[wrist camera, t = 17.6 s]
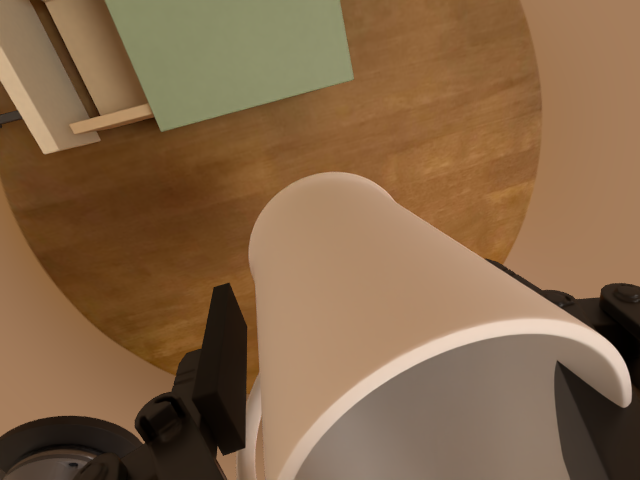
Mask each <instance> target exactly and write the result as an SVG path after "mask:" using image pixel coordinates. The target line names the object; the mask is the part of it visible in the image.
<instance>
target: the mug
mask: <svg viewBox="0 0 640 480" xmlns="http://www.w3.org/2000/svg"><path fill="white" fill-rule="evenodd" d="M249 265H250V270H251V274H252V277H253V279H254V282H255V291H256V310H257V330H258V350H259V370H260V372H259V374H258V376H257V378H256V380H255V383H254V385H253V387H252V390H251V392H250V395H249V398H248V401H247V404H246V448H244V449H241V450H238V451H237V453H236V475H237V480H257V478H256V470H255V448H256V439H257V432H258V427H259V422H260V419H261V415H262V427H263V428H262V429H263V448H264V469H265V480H570V477H569V475H568V472H567V469H566V466H565V463H564V460H563V456H562V450H561V444H560V438H559V431H558V424H557V417H556V408H555V395H554V374H555V366H556V362H557V360H558V361H559V362H560V363H562V364H563V365H564V366H565V367H567V368H568V369H569V370H570V371H572V372H573V373H574V374H576V375H577V376H578V377H580V378H581V379H582V380H583V381H585V382H586V383H587V384H589V385H590V386H591V387H593V388H594V389H595V390H597V391H598V392H599V393H601V394H602V395H604V396H605V397H606V398H608V399H609V400H611V401H612V402H614V403H615V404H617V405H619V406H620V407H623V408H625V407H627V406H628V405H629V404H630V403H631V400H632V387H631V380H630V375H629V372H628V369H627V366H626V364H625V362H624V360H623V358H622V356H621V355H620V353H619V352H618V351H617V349H616V348H615V347H614V346H613V345H612V344H611V343H610V342H609V341H608V340H607V339H605V338H604V337H603V336H602V335H600V334H599V333H597V332H596V331H595V330H593V329H592V328H590V327H589V326H587V325H586V324H584V323H583V322H581V321H580V320H578V319H577V318H575V317H573V316H572V315H570V314H569V313H567V312H566V311H564V310H563V309H561V308H559V307H558V306H556V305H555V304H553V303H552V302H550V301H549V300H547V299H545V298H544V297H542V296H541V295H539V294H538V293H536V292H535V291H533V290H531V289H530V288H528V287H527V286H525V285H524V284H522V283H521V282H519V281H517V280H516V279H514V278H513V277H511V276H510V275H508V274H507V273H505V272H503V271H502V270H500V269H499V268H497V267H496V266H494V265H493V264H491V263H489V262H488V261H486V260H485V259H483V258H482V257H480V256H479V255H477V254H475V253H474V252H472V251H471V250H469V249H468V248H466V247H465V246H463V245H461V244H460V243H458V242H457V241H455V240H454V239H452V238H451V237H449V236H447V235H446V234H444V233H443V232H441V231H440V230H438V229H437V228H435V227H433V226H432V225H430V224H429V223H427V222H426V221H424V220H423V219H421V218H419V217H418V216H416V215H415V214H413V213H412V212H410V211H409V210H407V209H405V208H404V207H402V206H401V205H399V204H398V203H396V202H395V201H394V199H393V198H392V197H391V196H390V195H389V194H388V193H387V192H386V191H385V190H384V189H383V188H382V187H380V186H379V185H378V184H376V183H374V182H373V181H371V180H369V179H367V178H364V177H362V176H359V175H355V174H351V173H345V172H325V173H319V174H314V175H311V176H308V177H305V178H302V179H300V180H298V181H296V182H294V183H292V184H290V185H289V186H287V187H286V188H284V189H283V190H281V191H280V192H279V193H278V194H277V195H275V196H274V197H273V198H272V199H271V200H270V202H269V203H268V204H267V205H266V206H265V208H264V209H263V210H262V212H261V214H260V215H259V217H258V219H257V221H256V223H255V225H254V228H253V231H252V234H251V238H250V243H249Z"/></svg>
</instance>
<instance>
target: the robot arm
mask: <svg viewBox="0 0 640 480" xmlns="http://www.w3.org/2000/svg"><path fill="white" fill-rule="evenodd" d="M485 260H486V261H488V262H489V263H491V264H493V265H494V266H496V267H497V268H499V269H500V270H502V271H503V272H505V273H507V274H508V275H510V276H511V277H513V278H514V279H516V280H517V281H519V282H521V283H522V284H524V285H525V286H527V287H528V288H530V289H531V290H533V291H535V292H536V293H538V294H539V295H541V296H542V297H544V298H545V299H547V300H549V301H550V302H552V303H553V304H555V305H556V306H558V307H559V308H561V309H563V310H564V311H566V312H567V313H569V314H570V315H572V316H573V317H575V318H577V319H578V320H580V321H581V322H583V323H584V324H586V325H587V326H589V327H590V328H592V329H593V330H595V331H596V332H597V333H599V334H600V335H602V336H603V337H604V338H605V339H607V340H608V341H609V342H610V343H611V344H612V345H613V346H614V347H615V348H616V349H617V351H618V352H619V353H620V355H621V356H622V358H623V360H624V362H625V364H626V366H627V369H628V372H629V375H630V380H631V387H632V400H631V403H630V404H629V405H628V406H627V407H625V408H623V407H620V406H619V405H617V404H615V403H614V402H612V401H611V400H609V399H608V398H606V397H605V396H604V395H602V394H601V393H599V392H598V391H597V390H595V389H594V388H593V387H591V386H590V385H589V384H587V383H586V382H585V381H583V380H582V379H581V378H580V377H578V376H577V375H576V374H574V373H573V372H572V371H570V370H569V369H568V368H567V367H565V366H564V365H563V364H562V363H560V362H559V361H558V360H557V362H556V366H555V374H554V395H555V408H556V417H557V424H558V431H559V438H560V444H561V450H562V456H563V460H564V463H565V466H566V469H567V472H568V475H569V477H570V480H640V287H639V286H635V285H632V284H625V283H615V284H609V285H606V286H604V287H603V288H602V289H601V295H600V298H588V299H575V298H574V297H573V296H571V295H569V294H567V293H564V292H560V291H555V290H541V289H539V288H538V287H536V286H535V285H533V284H531V283H530V282H528V281H527V280H525V279H524V278H522V277H521V276H519V275H516V274H515V273H514V272H513V271H511V270H508V269H507V268H506V267H505V266H503V265H502V264H500V263H499V262H496V261H492V260H489V259H485ZM246 374H247V325H246V323H245V320H244V318H243V315H242V313H241V310H240V308H239V305H238V303H237V300H236V298H235V296H234V293H233V291H232V288H231V286H230V283H227V284H223V285H220V286H217V287H214V289H213V294H212V299H211V304H210V309H209V314H208V319H207V324H206V329H205V334H204V339H203V344H202V349H198V350H195V351H192V352H189V353H186V355H185V356H184V358H183V359H182V361H181V362H180V363H179V366H178V370H177V373H176V377H175V381H174V386H173V388H172V392H168V393H164V394H161V395H159V396H157V397H155V398H153V399H152V400H150V401H149V402H148V403H147V404H146V405H145V406H144V407H143V408H142V409H141V410H140V411H139V413H138V415H137V417H136V419H135V428H136V430H137V431H138V433H139V434H140V435H141V437H142V438H143V440H144V441H145V444H143V445H142V446H140V447H139V448H137V449H136V450H134V451H132V452H131V453H129V454H127V455H126V456H124V457H123V458H121V459H120V458H119V457H118V456H117V455H116V454H114V453H105V452H103V451H101V450H99V449H96V448H93V447H90V446H86V445H80V444H54V445H48V446H44V447H41V448H37V449H35V450H32V451H30V452H28V453H26V454H24V455H23V456H21V457H20V458H19V459H18V460H16V461H15V463H14V464H13V465H12V466H11V468H10V469H9V471H8V472H7V474H6V475H5V477H4V478H3V480H227V478H226V476H225V474H224V473H223V471H222V469H221V467H220V465H219V463H218V461H217V460H216V456H217V446H218V447H219V449H220V451H221V453H222V454H223V456H224V455H227V454H230V453H232V452H235V451H238V450H241V449H244V448H246Z"/></svg>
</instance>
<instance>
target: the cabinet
mask: <svg viewBox="0 0 640 480" xmlns="http://www.w3.org/2000/svg"><path fill="white" fill-rule="evenodd" d="M105 3H106V5H107V7H108V10H109V12H110V14H111V17H112V19H113V21H114V24H115V26H116V28H117V31H118V33H119V35H120V38H121V40H122V42H123V45H124V47H125V49H126V52H127V54H128V56H129V59H130V61H131V63H132V66H133V68H134V70H135V72H136V75H137V77H138V79H139V82H140V84H141V86H142V89H143V91H144V93H145V96H146V98H147V100H148V103H149V105H150V107H151V110H152V112H153V114H154V117H155V119H156V121H157V124H158V126H159V128H160V131H161V132H163V131H167V130H170V129H174V128H178V127H181V126H185V125H189V124H193V123H196V122H200V121H204V120H207V119H211V118H215V117H218V116H222V115H226V114H229V113H233V112H237V111H241V110H244V109H248V108H252V107H255V106H259V105H263V104H266V103H270V102H274V101H277V100H281V99H285V98H289V97H292V96H296V95H300V94H303V93H307V92H311V91H314V90H318V89H322V88H325V87H329V86H333V85H337V84H340V83H344V82H348V81H351V80H354V76H353V71H352V65H351V59H350V54H349V48H348V43H347V37H346V32H345V26H344V21H343V15H342V10H341V4H340V0H105Z"/></svg>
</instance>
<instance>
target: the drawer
mask: <svg viewBox="0 0 640 480" xmlns="http://www.w3.org/2000/svg"><path fill="white" fill-rule="evenodd" d="M41 1H43V2H45V4H46V6H47V8H48V10H49V12H50V14H51V16H52V18H53V20H54V22H55V24H56V26H57V28H58V30H59V33H60V35H61V37H62V39H63V41H64V43H65V45H66V47H67V49H68V51H69V53H70V55H71V57H72V59H73V61H74V63H75V65H76V67H77V69H78V71H79V73H80V75H81V77H82V79H83V81H84V83H85V85H86V87H87V89H88V91H89V93H90V95H91V97H92V99H93V101H94V103H95V105H96V107H97V109H98V111H99V113H100V115H101V116H98V117H94V118H89V116H88V114H87V112H86V110H85V108H84V106H83V104H82V102H81V100H80V98H79V96H78V94H77V92H76V91H75V89H74V87H73V85H72V83H71V81H70V79H69V77H68V75H67V73H66V71H65V69H64V67H63V65H62V63H61V61H60V59H59V57H58V55H57V53H56V51H55V49H54V47H53V45H52V43H51V41H50V40H49V38H48V36H47V34H46V32H45V30H44V28H43V26H42V24H41V22H40V20H39V18H38V16H37V14H36V12H35V10H34V8H33V6H32V4H31V2H30V0H0V81H1V82H2V84H3V86H4V88H5V89H6V91H7V93H8V94H9V96H10V98H11V99H12V101H13V103H14V104H15V106H16V108H17V111H13V112H9V113H5V114H1V115H0V128H2V125H1V124H5V123H8V122H12V121H16V120H20V119H23V120H24V121H25V123H26V125H27V126H28V128H29V130H30V132H31V133H32V135H33V137H34V138H35V140H36V142H37V143H38V145H39V147H40V148H41V150H42V152H43V153H44V154H49V153H53V152H58V151H62V150H66V149H70V148H74V147H79V146H83V145H87V144H91V143H95V142H99V141H101V140H100V138H99V136H98V134H97V132H96V131H100V130H106V129H112V128H115V127H119V126H123V125H127V124H130V123H134V122H138V121H142V120H145V119H149V118H153V117H154V114H153V112H152V110H151V107H150V105H149V103H148V100H147V98H146V96H145V93H144V91H143V89H142V86H141V84H140V82H139V79H138V77H137V75H136V72H135V70H134V68H133V66H132V63H131V61H130V59H129V56H128V54H127V52H126V49H125V47H124V45H123V42H122V40H121V38H120V35H119V33H118V31H117V28H116V26H115V24H114V21H113V19H112V17H111V14H110V12H109V10H108V7H107V5H106V3H105V0H41Z"/></svg>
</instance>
